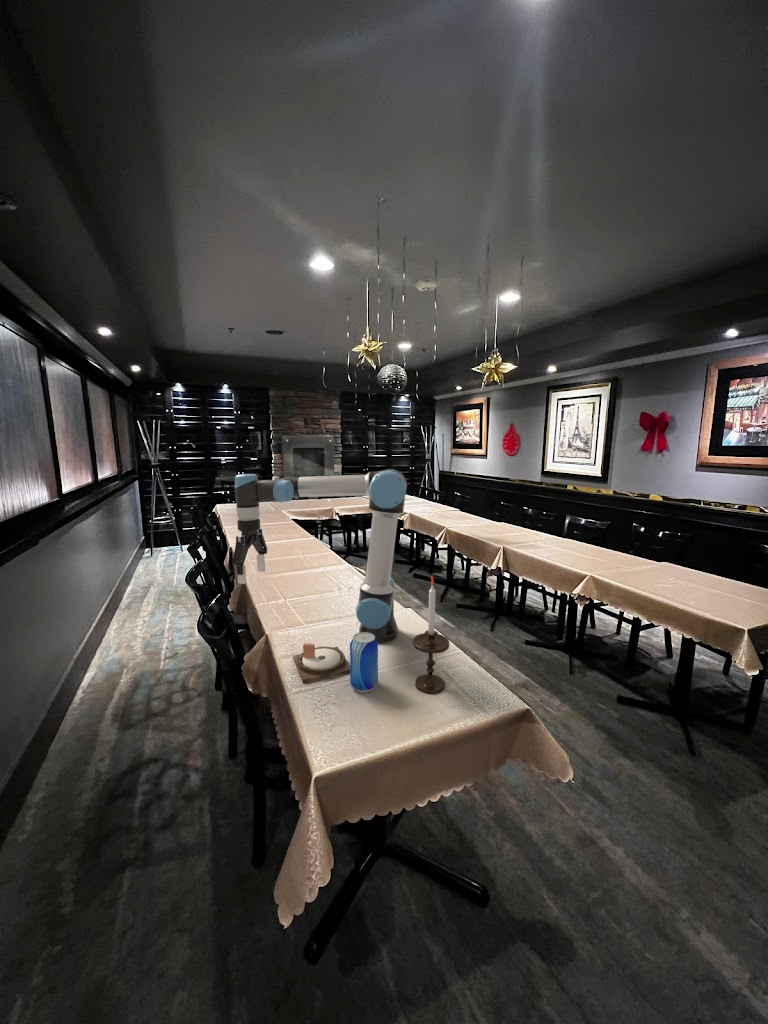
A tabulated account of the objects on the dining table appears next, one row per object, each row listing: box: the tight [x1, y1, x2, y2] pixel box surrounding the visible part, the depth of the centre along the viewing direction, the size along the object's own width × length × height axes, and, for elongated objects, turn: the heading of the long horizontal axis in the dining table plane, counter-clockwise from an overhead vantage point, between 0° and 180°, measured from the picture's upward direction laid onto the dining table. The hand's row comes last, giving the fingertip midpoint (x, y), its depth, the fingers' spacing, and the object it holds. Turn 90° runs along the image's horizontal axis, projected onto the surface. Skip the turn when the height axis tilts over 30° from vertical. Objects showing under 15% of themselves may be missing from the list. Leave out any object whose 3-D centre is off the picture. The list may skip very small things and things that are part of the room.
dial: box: [302, 642, 341, 669], centre depth 134 cm, size 13×13×6 cm
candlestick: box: [412, 574, 450, 695], centre depth 121 cm, size 11×11×35 cm
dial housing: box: [292, 646, 350, 684], centre depth 134 cm, size 16×16×3 cm
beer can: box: [349, 632, 379, 694], centre depth 121 cm, size 8×8×16 cm
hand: (252, 577), depth 144 cm, fingers open, 13 cm apart
